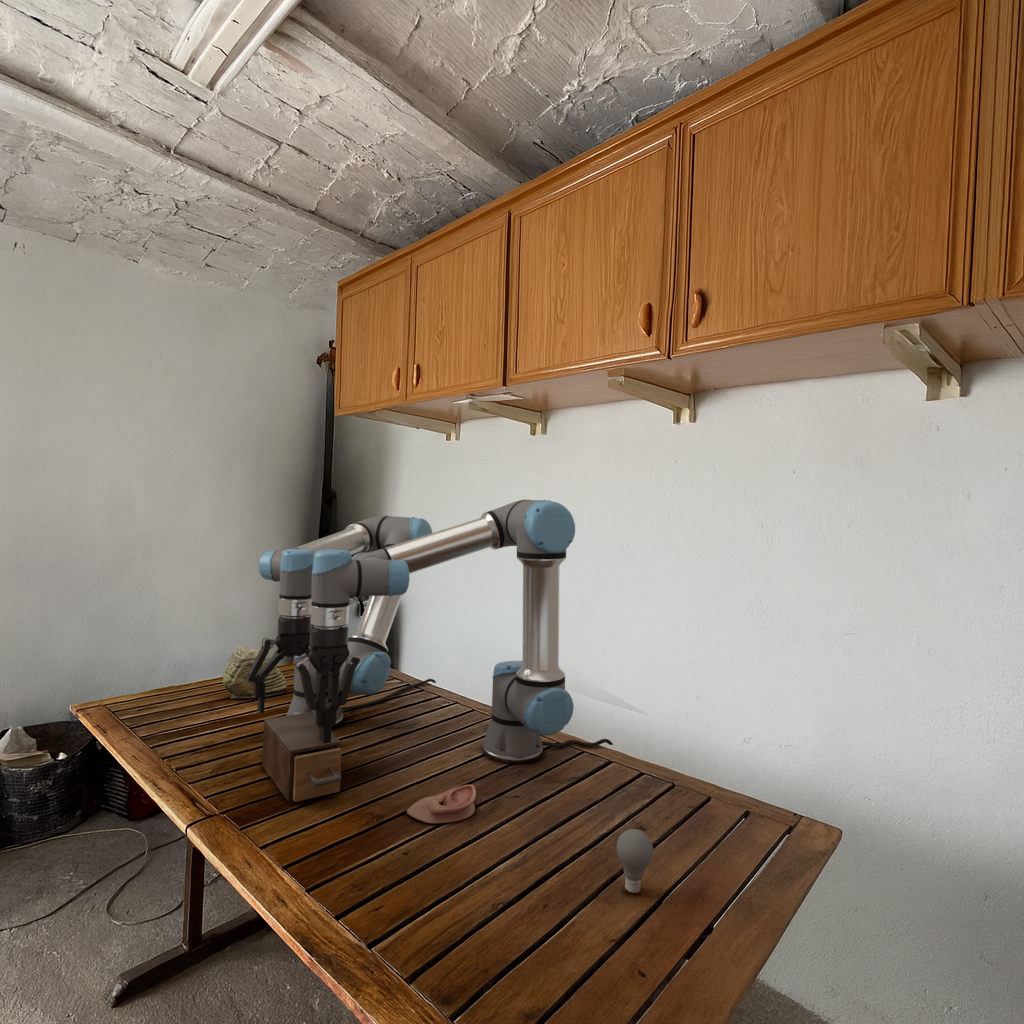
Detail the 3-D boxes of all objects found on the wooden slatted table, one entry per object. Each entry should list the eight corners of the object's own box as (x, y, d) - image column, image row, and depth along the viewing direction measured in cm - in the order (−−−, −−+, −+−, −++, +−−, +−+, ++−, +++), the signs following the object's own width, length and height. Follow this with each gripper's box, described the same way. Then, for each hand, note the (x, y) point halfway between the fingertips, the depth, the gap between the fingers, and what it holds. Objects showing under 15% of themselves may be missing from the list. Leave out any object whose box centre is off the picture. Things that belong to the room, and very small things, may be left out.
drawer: (350, 802, 130) (351, 759, 130) (303, 814, 124) (305, 769, 124) (310, 757, 151) (311, 720, 151) (268, 766, 145) (270, 727, 145)
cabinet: (338, 790, 137) (340, 741, 137) (288, 802, 131) (290, 750, 130) (308, 756, 154) (309, 711, 154) (262, 765, 148) (263, 719, 148)
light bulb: (610, 879, 108) (613, 822, 108) (644, 879, 109) (647, 822, 109) (619, 902, 102) (622, 840, 102) (655, 901, 103) (658, 840, 103)
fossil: (218, 695, 195) (220, 647, 195) (278, 685, 208) (279, 640, 207) (228, 703, 189) (230, 653, 188) (289, 692, 201) (290, 645, 201)
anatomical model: (401, 799, 125) (421, 775, 137) (400, 819, 126) (420, 793, 137) (466, 808, 123) (481, 783, 134) (465, 829, 123) (480, 802, 134)
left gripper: (242, 622, 137) (237, 719, 137) (352, 615, 151) (348, 703, 152) (234, 616, 143) (230, 709, 143) (341, 610, 158) (337, 695, 158)
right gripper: (303, 632, 122) (298, 753, 122) (367, 626, 129) (362, 741, 130) (291, 624, 128) (287, 740, 128) (353, 620, 135) (349, 729, 136)
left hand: (291, 706), depth 147 cm, fingers open, 13 cm apart
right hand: (325, 740), depth 129 cm, fingers closed
